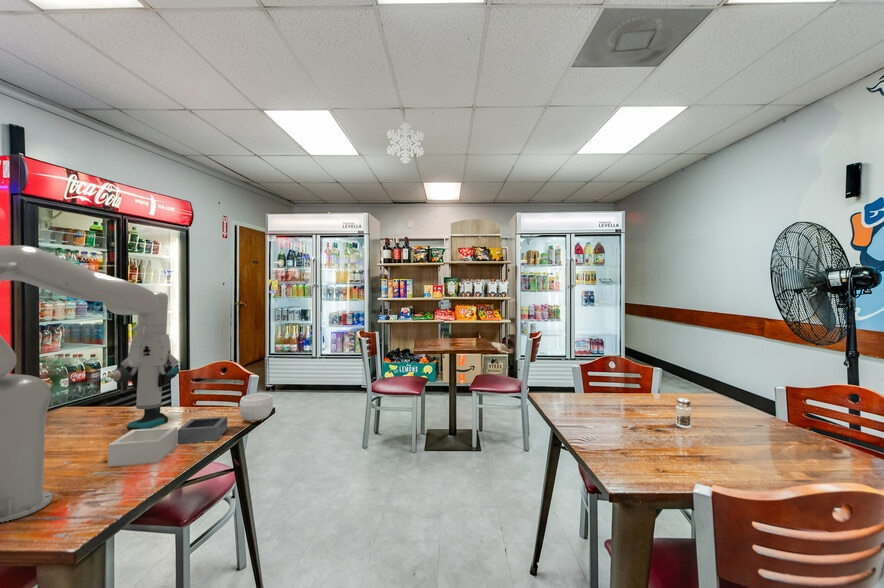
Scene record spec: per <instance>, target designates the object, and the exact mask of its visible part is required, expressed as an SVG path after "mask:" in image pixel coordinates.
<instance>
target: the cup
mask: <svg viewBox="0 0 884 588" xmlns="http://www.w3.org/2000/svg"><path fill="white" fill-rule="evenodd" d="M273 404H274V400H273V397H272V394H270V393H263V392H262V393H251V394H247V395H243V396H242V397H241V398H240V401H239V412H240V416H241V418H242V419H243V420H244V421H245V420H246V421H248V422H249V421H260V420H261V421H260V422H262V421H264V419H267V418H268V417H269V416H270V414H271V412H272V410H273V407H274V405H273Z"/></svg>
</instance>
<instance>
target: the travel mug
mask: <svg viewBox="0 0 884 588" xmlns="http://www.w3.org/2000/svg"><path fill="white" fill-rule="evenodd" d="M140 347H141V346H140ZM148 348H149V346H145V349H144V350H143V352H144V353H145V352H146V354H145V355H143V356H142V357H144V358H143V365H142V366H140V367H138V381H137V387H136V405H135V408H136V409H137V410H144V409H152V408H157V407H159V406H162V391H163V390H162V389H163V387H158V381H159V375H160V374H161V372H160V370H159V368H158V366H154V367H153V366H150V364H149V359H150V358H149V357H151V356H150V355H149V352H150V349H148Z"/></svg>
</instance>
